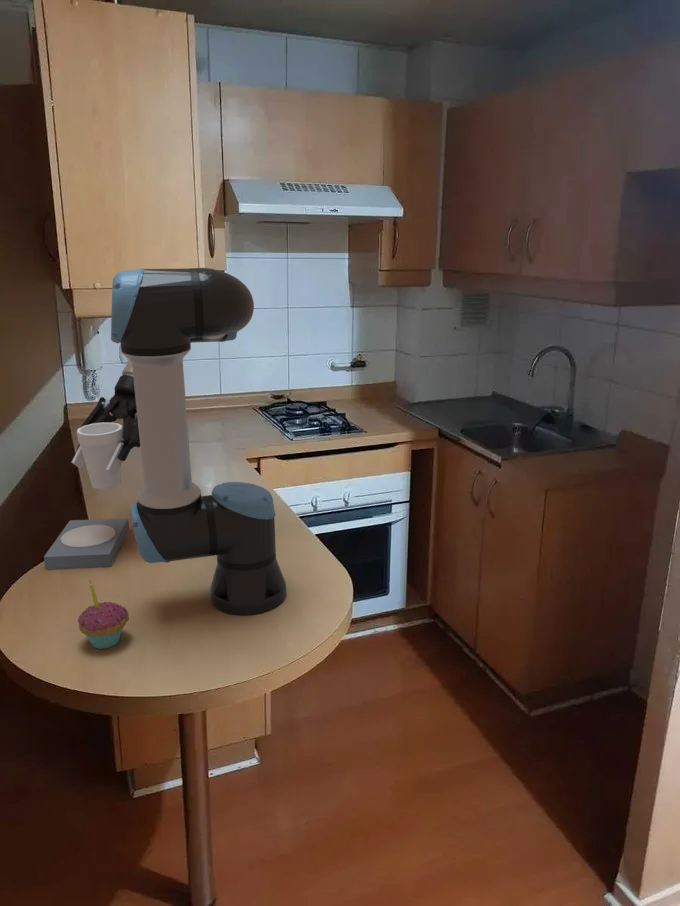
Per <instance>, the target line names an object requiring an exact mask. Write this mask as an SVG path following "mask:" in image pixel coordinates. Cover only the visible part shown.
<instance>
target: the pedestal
mask: <svg viewBox="0 0 680 906" xmlns="http://www.w3.org/2000/svg"><path fill="white" fill-rule="evenodd" d="M129 531H130V524H129V518H128V517H127V518H126V517H125V518H124V517H122V518H103V519H102V518H100V519H97V518H96V519H95V518H94V519H73V520H70V519H69V521H68V523H67V524H66V525H65V527H64V528H63V529H62V531H61V532H60V533H59V535H58V536H57V538H56V539H55V540H54V542H53V543H52V545H51V546H50V547H49V549H48V551H47V552H46V553H45V555H44V556H43V561H44V568H45V570H62V569H64V570H65V569H78V568H79V569H82V568H83V569H85V568H87V569H88V568H105V567H106V568H107V567H112V565H113V562H114V561H115V559H116V557H117V555H118V553H119V551H120V550H121V547H122V545H123V543H124V541H125V539H126V537H127V535H128V533H129Z"/></svg>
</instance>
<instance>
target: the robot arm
mask: <svg viewBox="0 0 680 906" xmlns="http://www.w3.org/2000/svg"><path fill="white" fill-rule="evenodd" d="M111 285H112V286H111V287H112V289H111V317H110V318H111V319H110V325H111V327H110V340H111V342H113V343H115V344H120V352H121V354H122V355H123V356H124V357H126V359H128V360H127V362H126V364H125V367H124V368H123V370H122V371H121V375H120V376H119V378H118V380H117V382H116V384H115V386H114V395H112V396H111V398H109V399H107V398H105V397H103V396H100V398H99V400H98V402H97V404H96V406H95V407H94V408H93V409H92V411H91V412H90V413H89V415H88V416H87V417H86V419H85V420H84V421H83V423H82V424H81V425H80V427H79V428H81V427H83V426H85V425H89V424H94V423H115V422H117V420H123V421H122V428H123V439H122V441H121V442H122V443H119V444H118V446H117V448H116V450H115V452H114V454H113V456H112V458H111V460H110V462H109V464H108V466H107V468H106V470H107V471H109V472H110V473H111V474H113V475H117V473H118V470H119V468H120V466H121V464H122V465H123V462H125V461H126V460H127V458H128V457H129V453H130V451H131V450H132V449H134V448H140V454H141V464H142V475H143V488H141V489H140V491H138V493H137V495H136V500H137V502H136V501H135V502H134V503H131V505H130V508H129V509H130V518H131V523H132V528H133V533H134V538H135V541H136V542H135V543H136V545H137V549H138V552H139V555H140V557H141V559H142V560H143V561H144V562H146V563H149V564H155V563H164V564H165V563H170V562H175V561H176V562H177V561H183V560H184V561H185V560H193V559H197V558H198V559H199V558H206V557H211V556H212V557H213V556H216V561H217V563H216V568H215V571H214V574H213V578H212V581H211V585H210V588H209V589H210V591H209V592H210V601H211V604H212V605H213V606H214V607H215V609H217V610H219V611H221V612H224V613H227V614H231V615H238V616H240V615H241V616H243V615H244V616H246V615H247V616H248V615H255V614H262V613H266V612H268V611H271V610H273V609H274V608H275V609H276V608H277V607H278V606H280V605H281V604H282V603H283V602H284V601H285V599H286V597H287V583H286V580H285V577H284V575H283V572H282V570H281V568H280V565H279V563H278V560H277V553H276V552H277V550H276V549H277V548H276V547H277V546H276V524H275V523H276V522H275V517H276V511H275V506H274V505H275V504H274V498H273V496H272V494H271V492H270V491H269V490H268V489H267V488H264V487H263V486H260V485H257V484H255V483H250V482H242V481H230V482H229V481H228V482H222V483H220V484H217V485H215V486H214V487H213V488H212V490H211V494H209V495H202V490H201V488H200V487H199V485H197V484H195V483H194V482H193V480H192V467H191V455H190V454H191V453H190V440H189V427H188V426H189V425H188V414H187V413H188V412H187V403H186V402H187V401H186V389H185V388H186V387H185V373H184V357H186V356H187V354H188V353H190V351H191V350H192V347H191V343H194V344H195V343H212V342H213V343H214V342H215V343H216V342H220V343H225V342H228V341H230V342H231V341H235V340H236V339H237V335H238V332H239V331H241V330H243V329H244V328H245V327H246V326H247V325H249V323H250V322H251V320H252V318H253V315H254V309H255V302H254V298H253V295H252V293H251V291H250V290H249V288H248V287H247V285H246V284H245V283H243V282H242V281H241V280H240V279H238V278H237V277H235V276H233V275H231V274H229V273H228V272H225V271H222V270H220V269H215V268H209V267H196V268H195V267H194V268H137V269H129V270H121V271H118V272H116V273H115V275H114V276H113V278H112V284H111ZM78 443H79V442H78ZM76 450H77V451H76V453H75V454H74V456H73V459H72V460H71V462H70V463H71V464H73V465H74V466H76V467H77V468H78V469H82V468H83V466H84V464H85V460H84V457H83V453H82V450H81V447H80V443H79V444H78V446H77V448H76Z"/></svg>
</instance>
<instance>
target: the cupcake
mask: <svg viewBox="0 0 680 906" xmlns="http://www.w3.org/2000/svg"><path fill="white" fill-rule="evenodd" d="M88 582H89V589H90V593H91V597H92V600H93V604H92V605H91V606H88V608H85V610H84V611H82V612H81V614H80V615H79V616H78V619H77V623H78V629H79V632H81V633H82V634H83V635H85V636H86V637H87V638H88V641H89V642H90V644H91V646H92V647H93V648H95V649H98V650H99V649H101V650H102V649H103V650H105V649H109V648H112V647H114V646H116V645H117V644H118V643H119V641H120V637H121V634H122V633H121V632H122V630H123V628H124V627H125V626H126V624H127V623H128V621H129V619H130V618H129V617H130V616H129V612H128V610H127V609H126V607H125V606H122V604H119V603H116V602H112V601H110V602H109V601H107V602H106V601H104V602H98V601H99V600H98V597H97V594H96V590H95V587H94V584H93V583H92V581H91V580H90V579H89V580H88Z"/></svg>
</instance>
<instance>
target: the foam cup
mask: <svg viewBox="0 0 680 906" xmlns="http://www.w3.org/2000/svg"><path fill="white" fill-rule="evenodd" d="M80 427H81V426H80ZM80 427H79V428H77V430H76V436H77V443H80V447H81V450H82V453H83V457H84V460H85V463H84V464H85V466H86V467H85V468H86V471H87V474H88V477H89V480H90V484H91V487H92V488H93V489H96V490H110V489H114V488H117V487H119V486H121V485H122V477H123V476H122V475H123V463H122V464H121V466H120V468H119V470H118V473H117V475H113V474H111V473H110V472H109V471H107V470H106V468H107V466H108V464H109V462H110V460H111V458H112V456H113V454H114V452H115V450H116V448H117V446H118V444H119V443H122V442H121V441H122V440H123V424H120V423H116V422H111V423H94V424H89V425H85V426H83V427H81V428H80ZM122 444H123V443H122Z"/></svg>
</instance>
